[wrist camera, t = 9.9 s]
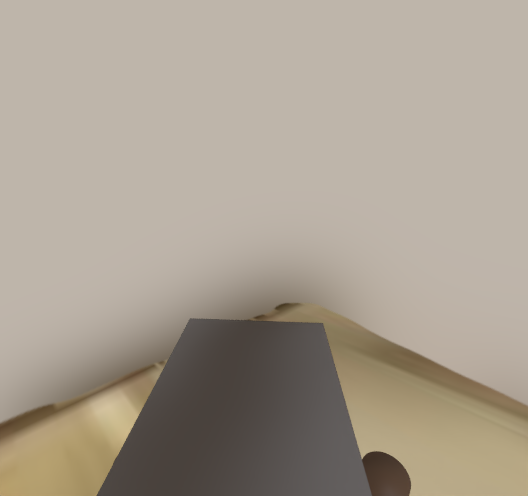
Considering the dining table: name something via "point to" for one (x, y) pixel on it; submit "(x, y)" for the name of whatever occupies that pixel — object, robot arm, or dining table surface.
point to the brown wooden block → (243, 418)
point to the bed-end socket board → (385, 475)
